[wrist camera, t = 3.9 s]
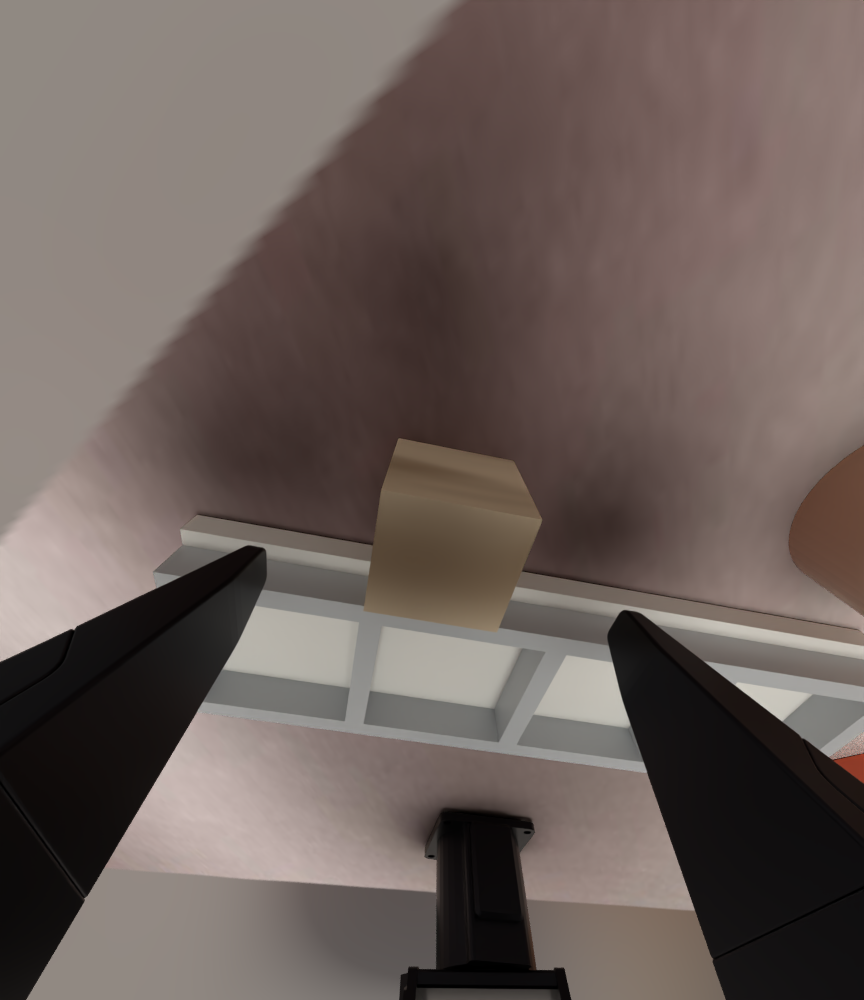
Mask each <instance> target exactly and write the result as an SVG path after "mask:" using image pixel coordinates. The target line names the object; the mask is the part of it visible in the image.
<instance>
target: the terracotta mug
mask: <svg viewBox="0 0 864 1000" xmlns="http://www.w3.org/2000/svg"><path fill="white" fill-rule="evenodd" d="M789 550H790V554H791V557H792V560H793V562H794V563H795V565H796V566H797V567H798V568H799V569H800V570H801V571H802V572H803V573H804V574H805V575H807V576H808V577H810V578H811V579H812V580H814V581H815V582H816V583H818V584H819V585H821V586H822V587H823V588H825V589H826V590H828V591H829V592H830V593H832V594H833V595H835V596H836V597H837V598H839V599H840V600H841V601H843V602H844V603H846V604H847V605H848V606H850V607H851V608H853V609H854V610H855V611H857V612H858V613H860V614H861V615H862V616H864V446H862V447H860V448H859V449H857V450H856V451H854V452H853V453H851V454H850V455H849V456H847V457H846V458H844V459H843V460H842V461H841V462H840V463H838V464H837V465H836V466H835V467H833V468H832V469H831V470H830V471H829V472H828V473H827V474H826V475H825V476H824V477H823V478H822V479H821V480H820V481H819V482H818V483H817V484H816V485H815V487H814V488H813V489H812V490H811V491H810V493H809V494H808V495H807V497H806V498H805V500H804V501H803V502H802V504H801V506H800V508H799V509H798V511H797V513H796V515H795V518H794V520H793V523H792V525H791V530H790V534H789Z"/></svg>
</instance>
